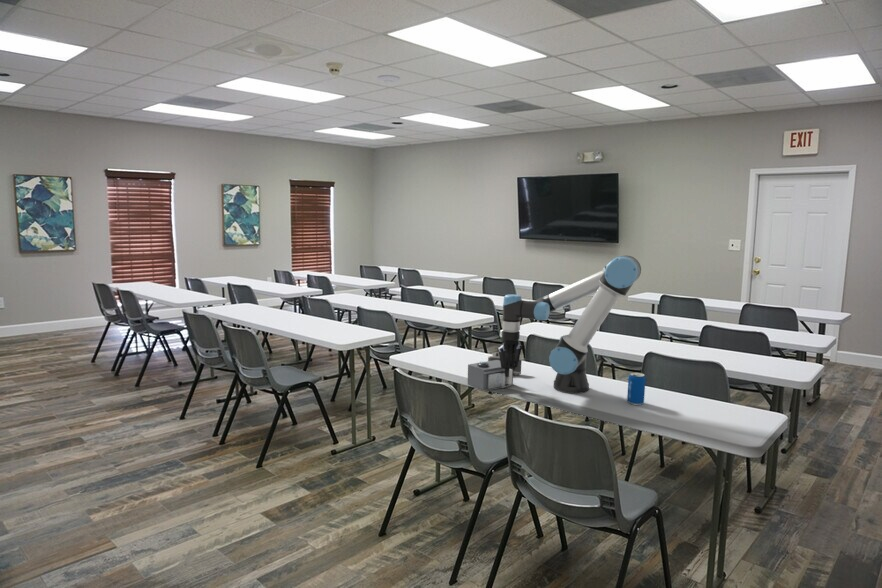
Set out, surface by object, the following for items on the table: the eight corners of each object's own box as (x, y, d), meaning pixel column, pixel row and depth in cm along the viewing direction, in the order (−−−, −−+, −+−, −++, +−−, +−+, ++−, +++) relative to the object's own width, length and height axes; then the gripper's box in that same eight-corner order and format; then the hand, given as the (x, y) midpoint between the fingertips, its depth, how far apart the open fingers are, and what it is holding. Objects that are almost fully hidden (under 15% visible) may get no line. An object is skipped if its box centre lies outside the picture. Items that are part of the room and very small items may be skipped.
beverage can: (623, 401, 230) (625, 372, 229) (636, 400, 233) (638, 371, 231) (634, 406, 224) (636, 377, 223) (647, 404, 227) (649, 375, 225)
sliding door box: (514, 385, 251) (515, 361, 250) (484, 391, 241) (485, 366, 240) (496, 378, 261) (497, 356, 259) (467, 384, 251) (468, 360, 250)
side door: (504, 387, 244) (505, 373, 243) (492, 390, 240) (492, 376, 239) (499, 385, 247) (500, 372, 246) (487, 388, 243) (487, 374, 242)
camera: (521, 374, 265) (522, 352, 268) (487, 371, 266) (488, 349, 269) (519, 377, 274) (521, 356, 277) (486, 374, 275) (488, 353, 278)
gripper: (516, 327, 249) (514, 379, 252) (493, 330, 242) (491, 383, 245) (528, 330, 243) (525, 383, 246) (505, 333, 236) (502, 388, 239)
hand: (508, 383), depth 245 cm, fingers closed
